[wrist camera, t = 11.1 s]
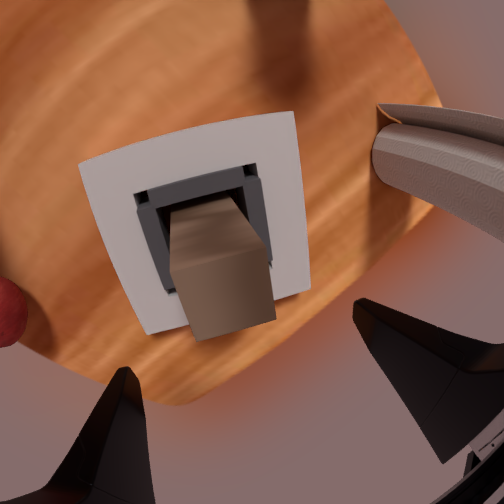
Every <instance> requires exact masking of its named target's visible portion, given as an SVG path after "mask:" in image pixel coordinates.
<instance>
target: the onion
mask: <svg viewBox="0 0 504 504" xmlns="http://www.w3.org/2000/svg"><path fill="white" fill-rule="evenodd" d="M27 317H28V311H27V305H26V301H25V298H24V296H23V294H22V293H21V291H20V289H19V288H18V287H17V285H16V284H15V283H13V282H12V281H10V280H9V279H7V278H4V277H0V348H2V347H7V346H11V345H12V344H14V343H15V342H16V341H17V340H18V339H19V338H20V337H21V335H22V334H23V332H24V330H25V328H26V323H27Z"/></svg>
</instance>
